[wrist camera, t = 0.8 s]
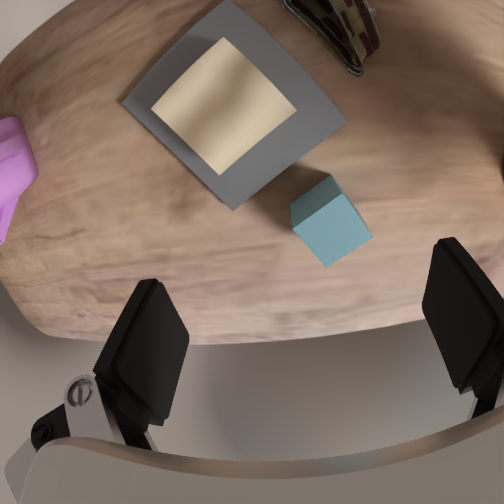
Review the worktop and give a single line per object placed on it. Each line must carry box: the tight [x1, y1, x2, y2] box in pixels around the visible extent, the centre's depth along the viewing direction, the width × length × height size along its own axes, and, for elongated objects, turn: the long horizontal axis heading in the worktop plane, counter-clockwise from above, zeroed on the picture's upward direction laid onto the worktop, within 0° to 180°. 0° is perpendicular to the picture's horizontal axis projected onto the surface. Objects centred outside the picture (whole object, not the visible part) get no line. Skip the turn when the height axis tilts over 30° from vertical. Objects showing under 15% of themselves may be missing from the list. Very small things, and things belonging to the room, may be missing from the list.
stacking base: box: [122, 0, 348, 211], centre depth 23 cm, size 18×16×6 cm
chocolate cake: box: [280, 0, 381, 77], centre depth 18 cm, size 10×7×12 cm
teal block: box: [290, 174, 373, 267], centre depth 29 cm, size 6×6×6 cm
